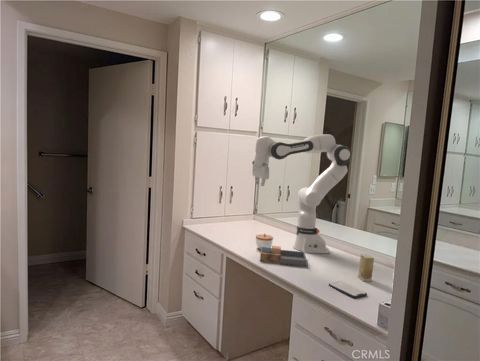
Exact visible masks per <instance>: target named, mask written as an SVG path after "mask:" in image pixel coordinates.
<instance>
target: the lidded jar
mask: <svg viewBox="0 0 480 361" xmlns="http://www.w3.org/2000/svg"><path fill="white" fill-rule="evenodd" d="M273 240H274V236H272V235H270V234H266V233H262V234H256V235H255V245H256V247H257V248H258V249H259V250H261V248H262V245H270V246H271V247H272V246H273Z"/></svg>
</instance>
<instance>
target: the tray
mask: <svg viewBox="0 0 480 361" xmlns="http://www.w3.org/2000/svg"><path fill="white" fill-rule="evenodd" d="M307 263H308V260H307V257H306V252H303V251H299V250H297V251H295V250H288V249H287V250H285V249H281V258H280V263H279V264H280V265H282V266H291V267H292V266H293V267H301V268H303V267H304V268H307V265H308V264H307Z"/></svg>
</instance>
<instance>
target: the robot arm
mask: <svg viewBox="0 0 480 361" xmlns="http://www.w3.org/2000/svg"><path fill="white" fill-rule="evenodd" d="M301 153H307V154H318V153H325V157H326V158H327V159H328V160H329V161H330V162H331V164H330V165H329V167H327V168H326V169H325V170H324V171H323V172H321V173H320V175H318V176H317V177H316V178H315V179H314V180H315V181H314V182H313V183H312V184H311V185H310V186H305V187H302V188H301V189H299V190H298V192H297V207H298V210H297V211H298V214H297V215H298V218H297V225H296V228H295V229H296V231H295V232H296V233H295V234H296V236H295V239H294V240H295V241H294V244H293V249H295V250H297V251H299V252H305V254H306V253H307V254H308V253H310V254H329V253H330V248H329V247H327V243H326V241H325V239H324V238H323V237H322V236H321V235H320V234H319V233H321V232H320V229H318V227H316V224H317V223H316V222H317V221H316V220H317V212H316V207H317V206H319V205H320V204H321V202H322V201H323V199H324V198H325V196H326V195H327V194H328V192H329V191H331V190H332V189H333V188H334V187H335V186H336V185H337V184H338V183H339V182H340V181H341V180H342V179H344V177H345V176H346V175H347V173H348V167H347V165H348V164H349V162H350V161H351V158H352V150H351V149H350V147H348V146H346V145H342V144H337V143H336V138H335V136H334V135H332V134H326V133H325V134H324V133H322V134H314V135H311V136H308V137H305V138H304V139H303V140H302V141H298V142H293V143H285V142H281V141H279V142H278V141H276V140H274V139H272V138H271V137H270V136H260V137H258V138H257V139H256V142H255V154H254V159H253V161H252V163H251V164H252V176H253V177H254V181H255V185H259V184H260V186H261V187H264V186H265V184H266V181H267V180H269V178H270V167H269V166H270V157H271V158H273V159H275V160H283V159H286V158H288V156H291V155H294V154H301ZM259 179H261V183H260V181H259Z"/></svg>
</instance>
